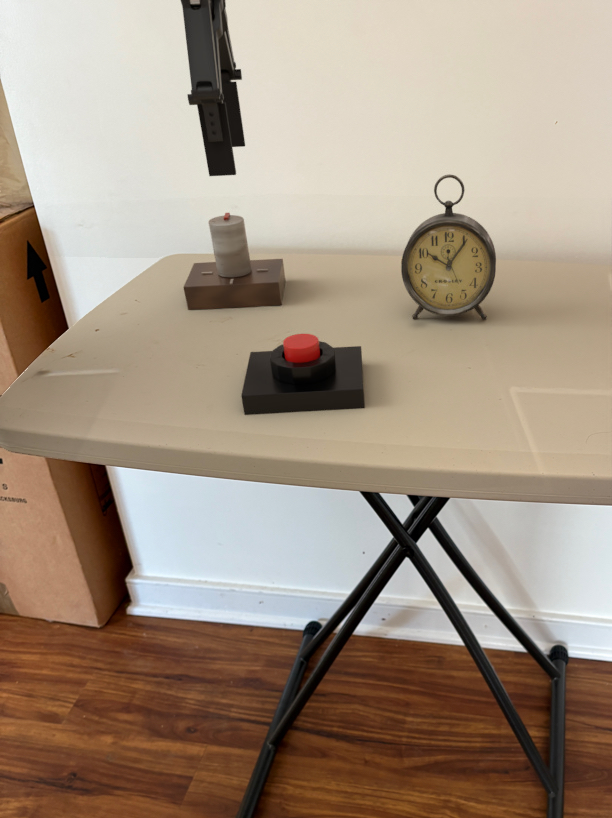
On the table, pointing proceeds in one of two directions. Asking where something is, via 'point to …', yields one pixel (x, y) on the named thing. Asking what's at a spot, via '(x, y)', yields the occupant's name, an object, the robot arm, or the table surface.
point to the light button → (301, 348)
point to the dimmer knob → (230, 245)
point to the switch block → (304, 381)
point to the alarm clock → (449, 262)
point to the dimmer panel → (235, 286)
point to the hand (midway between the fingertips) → (228, 160)
